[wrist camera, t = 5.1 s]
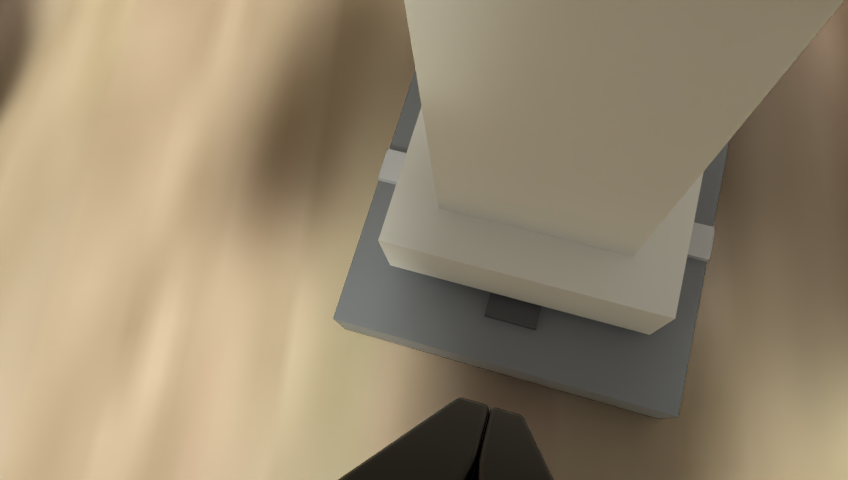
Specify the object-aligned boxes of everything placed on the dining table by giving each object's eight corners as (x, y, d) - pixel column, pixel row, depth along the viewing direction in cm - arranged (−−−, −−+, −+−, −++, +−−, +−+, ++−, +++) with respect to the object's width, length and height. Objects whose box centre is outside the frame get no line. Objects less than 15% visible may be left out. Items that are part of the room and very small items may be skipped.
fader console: (660, 419, 16) (681, 416, 14) (345, 328, 17) (331, 317, 16) (773, -175, 21) (799, -228, 19) (521, -213, 22) (524, -265, 20)
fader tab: (649, 334, 15) (1162, 7, 4) (390, 265, 16) (180, -164, 5) (690, 133, 16) (1160, -556, 5) (448, 80, 17) (393, -603, 6)
